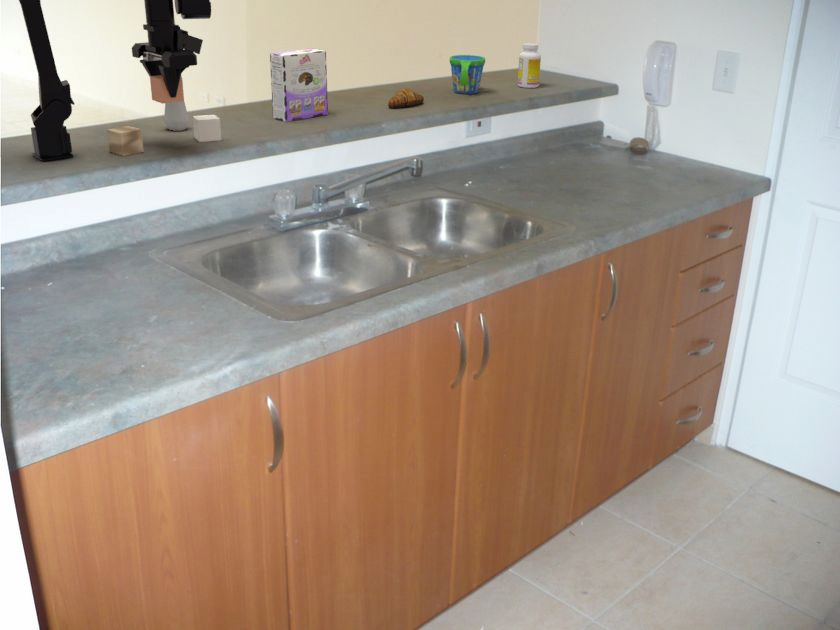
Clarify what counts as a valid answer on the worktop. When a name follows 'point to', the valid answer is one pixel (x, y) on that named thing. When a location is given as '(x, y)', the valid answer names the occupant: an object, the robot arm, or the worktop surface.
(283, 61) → the cake mix box
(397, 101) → the croissant
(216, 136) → the off-white cube
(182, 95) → the terracotta cube
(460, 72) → the snack cup
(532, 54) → the supplement bottle
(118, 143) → the oak cube
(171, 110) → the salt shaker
